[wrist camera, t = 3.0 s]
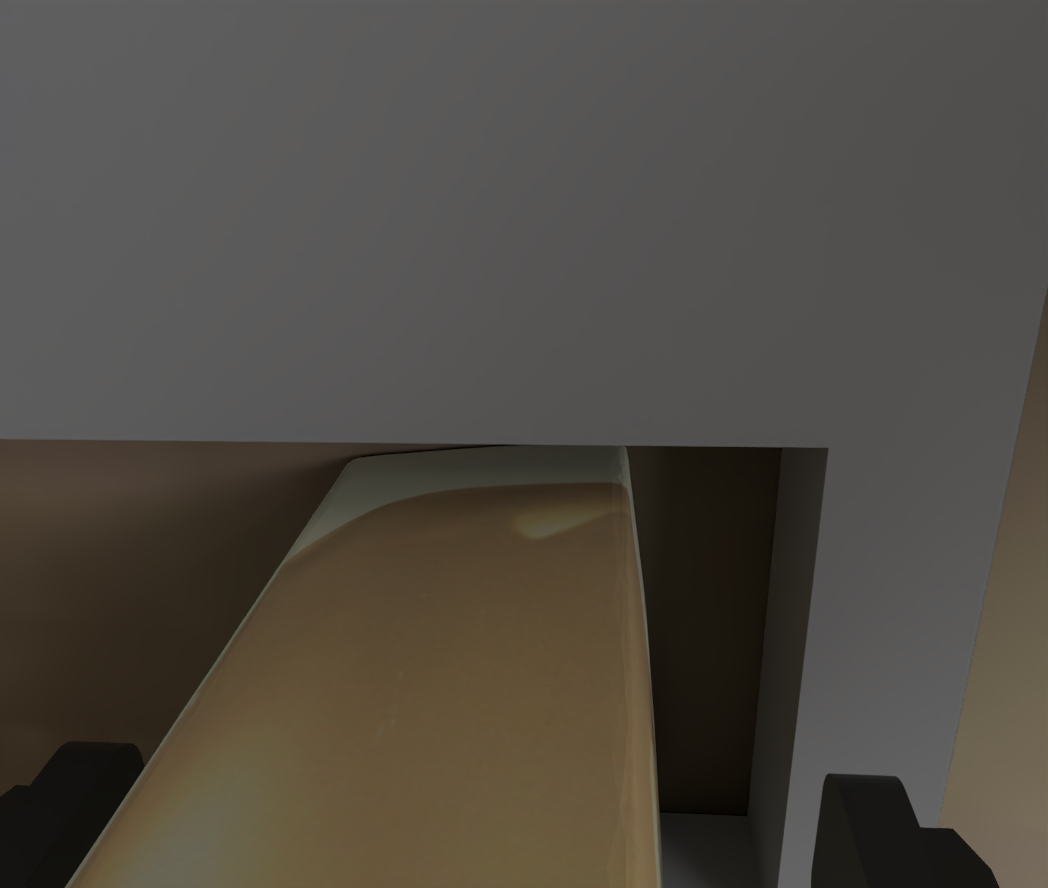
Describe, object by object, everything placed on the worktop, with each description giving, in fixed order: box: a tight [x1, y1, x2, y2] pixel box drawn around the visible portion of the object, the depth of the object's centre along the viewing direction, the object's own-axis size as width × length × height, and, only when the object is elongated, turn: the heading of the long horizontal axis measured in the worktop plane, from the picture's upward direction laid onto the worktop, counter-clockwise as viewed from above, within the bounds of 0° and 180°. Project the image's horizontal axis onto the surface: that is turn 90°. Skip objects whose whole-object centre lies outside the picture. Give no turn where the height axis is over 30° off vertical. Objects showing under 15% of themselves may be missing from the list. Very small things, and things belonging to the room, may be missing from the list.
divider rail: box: [0, 0, 1048, 888], centre depth 10 cm, size 14×25×4 cm, turn 1°
